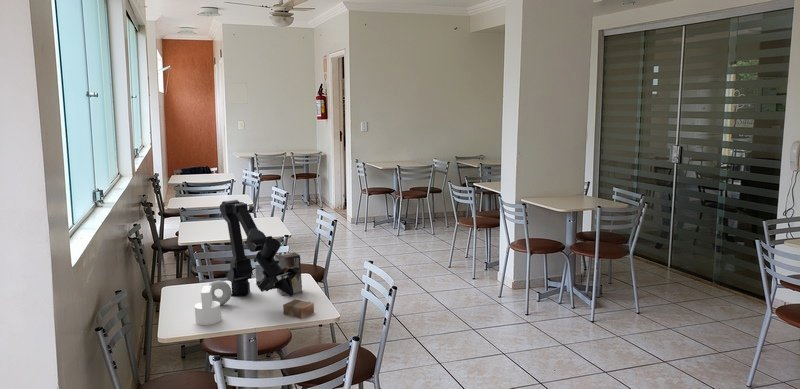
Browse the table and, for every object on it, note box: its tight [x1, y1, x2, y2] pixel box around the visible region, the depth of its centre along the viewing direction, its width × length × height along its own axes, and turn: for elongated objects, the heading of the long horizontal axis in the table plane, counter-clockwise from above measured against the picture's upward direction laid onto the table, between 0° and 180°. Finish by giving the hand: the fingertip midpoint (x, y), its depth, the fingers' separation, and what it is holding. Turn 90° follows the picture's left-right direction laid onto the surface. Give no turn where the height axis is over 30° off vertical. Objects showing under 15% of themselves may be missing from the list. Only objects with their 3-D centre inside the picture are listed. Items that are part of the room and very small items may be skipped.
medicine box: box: [254, 262, 264, 283], centre depth 275 cm, size 8×4×9 cm, turn 168°
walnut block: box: [282, 298, 315, 319], centre depth 234 cm, size 4×7×9 cm
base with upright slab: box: [194, 284, 222, 326], centre depth 227 cm, size 9×9×12 cm
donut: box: [207, 280, 232, 306], centre depth 244 cm, size 10×3×10 cm, turn 101°
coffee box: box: [274, 251, 303, 296], centre depth 259 cm, size 9×6×16 cm
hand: (292, 295), depth 234 cm, fingers closed
